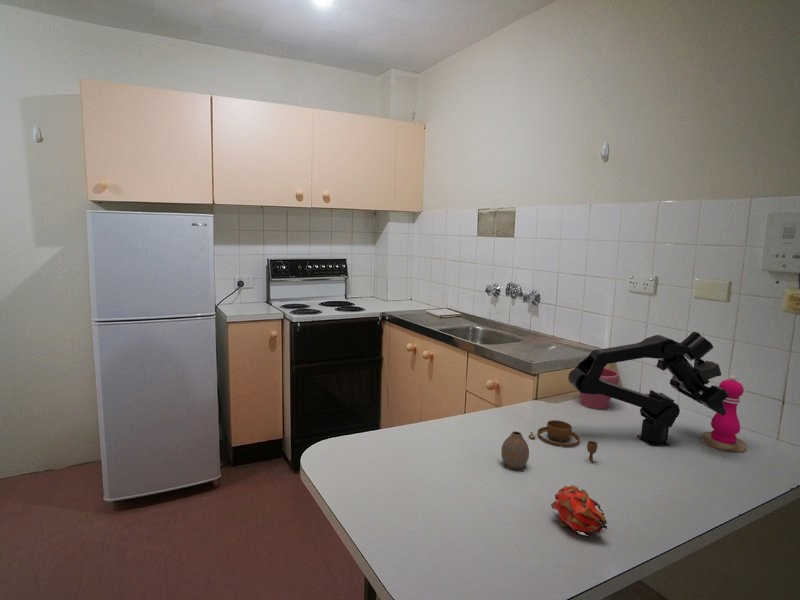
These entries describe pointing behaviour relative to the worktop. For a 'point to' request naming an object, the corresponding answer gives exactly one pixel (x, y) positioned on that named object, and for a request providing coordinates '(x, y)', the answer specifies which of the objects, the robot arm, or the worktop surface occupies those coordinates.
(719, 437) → the pepper mill
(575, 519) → the dragon fruit
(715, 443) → the walnut base
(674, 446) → the worktop surface
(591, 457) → the place setting
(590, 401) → the plant pot
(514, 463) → the vase
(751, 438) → the worktop surface
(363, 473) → the worktop surface
